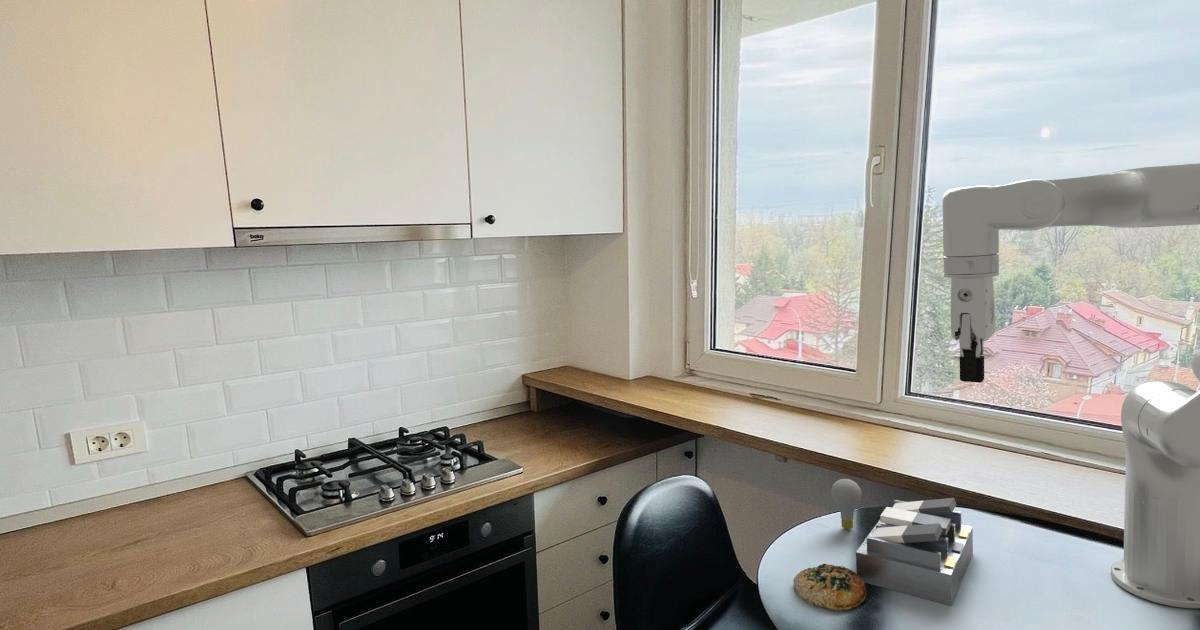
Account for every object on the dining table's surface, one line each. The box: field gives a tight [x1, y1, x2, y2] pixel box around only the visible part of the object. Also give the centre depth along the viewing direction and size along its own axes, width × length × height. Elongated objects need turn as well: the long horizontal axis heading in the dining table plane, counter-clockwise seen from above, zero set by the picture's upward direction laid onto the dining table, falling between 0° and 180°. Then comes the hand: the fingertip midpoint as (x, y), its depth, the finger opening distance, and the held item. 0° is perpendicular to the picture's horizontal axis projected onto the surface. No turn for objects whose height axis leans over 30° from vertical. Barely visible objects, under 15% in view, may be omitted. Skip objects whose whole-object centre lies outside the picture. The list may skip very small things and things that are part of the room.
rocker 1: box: [891, 497, 957, 515], centre depth 113 cm, size 10×4×1 cm, turn 51°
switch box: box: [855, 499, 974, 606], centre depth 109 cm, size 14×18×8 cm
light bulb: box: [830, 478, 863, 531], centre depth 124 cm, size 6×6×10 cm
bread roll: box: [793, 563, 868, 612], centre depth 104 cm, size 11×11×5 cm
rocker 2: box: [879, 506, 951, 535], centre depth 108 cm, size 10×4×1 cm, turn 51°
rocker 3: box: [871, 523, 943, 544], centre depth 104 cm, size 10×4×1 cm, turn 51°
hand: (972, 380), depth 103 cm, fingers closed
